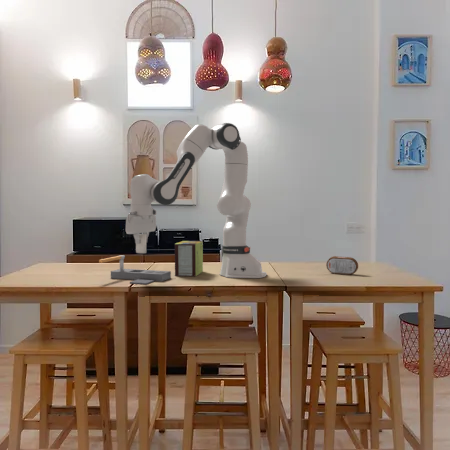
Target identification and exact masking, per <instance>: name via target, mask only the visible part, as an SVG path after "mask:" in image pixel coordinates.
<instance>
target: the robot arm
mask: <svg viewBox="0 0 450 450" xmlns="http://www.w3.org/2000/svg"><path fill="white" fill-rule="evenodd" d="M208 148H209V149H212V150H216V151H217V150H222V151H223V154H224V173H223V183H222V187H221V191H220V196H219V198H218V200H217V204H216V207H217V210H218V212H219V213H220V214H221V215H223V216H225V217H226V218H225V219H226V220H225V222H224V223H225V224H224V226H223V229H222V246H221V255H222V261H221V268H220V272H219V276H223V277H226V278H231V279H232V278H233V279H234V278H235V279H240V278H241V279H243V278H244V279H245V278H246V279H261V278H265V277H267V272H266V271H263V267H262V263H261V261H260V260H259V259H257V258H256V257H255V256H254V255H253V254H251V246H248V245H247V225H248V218H249V213H250V210H251V208H252V207H251V206H252V205H251V204H252V203H251V201H250V199H249V197H247V196H246V195H245V194H244V191H245V189H246V188H245V187H246V184H247V182H248V171H249V169H248V168H249V158H248V156H249V155H248V146H247V144H246V143H245V142H243V141H242V138H241V136H240V131H239V129H238V127H237V126H236V125H235V124H233V123H231V122H223V123H220V124H216V125H214V126H212V127H208V126H206V125H204V124H196V125H194V126H193V128H192V129H190V130H189V131H188V133H187V134H186V135H185V136H184V138H183V139H182V141H180V143H179V145H178V148H177V149H176V157H177V161H176V163H175V165H174V167H173V168H172V170H170V173H168V174H169V175H168V176H167V177H166V178H165V179H163V180H161V181H160V180H158V179H155V178H154V177H152V176H151V175H150V174H147V173H143V174H142V173H141V174H138V175H134V176H133V177H132V178H131V180H130V193H129V194H130V199H131V202H130V212H128V214H127V217H126V219H125V232H126V234H127V235H133V238H134V243H135V245H136V244H140V243H141V242H140V241H141V240H140V239H139V234H147V235H146V243H148V239H149V238H148V237H149V235H150V233H151V232H155V231H156V229H157V216H156V215H157V214H158V213H157V210H156V209H154V208H153V207H152V203H155V204H157V205H158V204H159V205H163V206H169V205H172V204H173V203H175V202H176V200H177V198H178V196H179V191H180V187H181V185H182V184H183V181H184V180H185V178H186V177H187V175H188V173H189V172H190V170H191V169H192V168H193V167H194V165H196V164H197V162H198V161H199V160H200V159H201V158H202V156H203V155H204V153H205V152H206V150H207V149H208Z"/></svg>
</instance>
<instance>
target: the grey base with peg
mask: <svg viewBox="0 0 450 450" xmlns="http://www.w3.org/2000/svg"><path fill="white" fill-rule="evenodd" d="M124 259H125V258H124ZM124 259H119V269H115V270H111V271H110V279H116V280H117V279H118V280H129V281H130V280H132V281H135V280H138V279H147V280H155V282H160V283H161V282H164V281H167V280H169V279H171V278H172V272H171V271H170V270H155V269H154V270H153V269H139V268H137V269H136V268H135V269H134V268H125V267H124V264H125V263H124Z"/></svg>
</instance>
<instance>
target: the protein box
mask: <svg viewBox="0 0 450 450" xmlns="http://www.w3.org/2000/svg"><path fill="white" fill-rule="evenodd" d="M203 243H204V242H203V240H201V241H200V240H182V241H179V242H176V243H174V276H175V277H197V276H198V275H200V274H202V273H203V271H204V270H203V269H204V268H203V267H204V265H203V264H204V259H203V258H204V256H203V255H204V253H203V252H204V251H203V250H204V249H203V245H204V244H203Z"/></svg>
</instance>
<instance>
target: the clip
mask: <svg viewBox="0 0 450 450" xmlns="http://www.w3.org/2000/svg"><path fill="white" fill-rule="evenodd" d="M125 257H126V256H125V255H124V254H123V255H117V256H111V257H107V258H101V259H98V263H99V264H100V263H101V264H102V263H108V262H111V261H112V262H113V261H118V260H120V259H126V258H125Z"/></svg>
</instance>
